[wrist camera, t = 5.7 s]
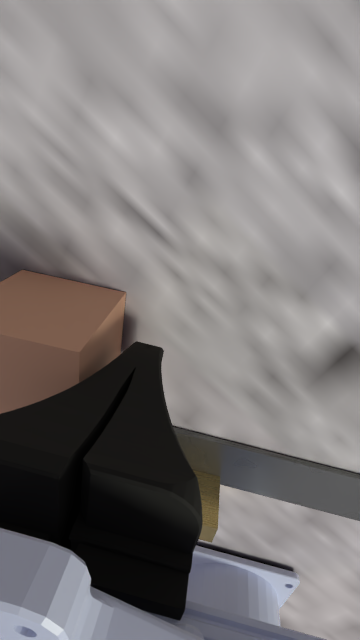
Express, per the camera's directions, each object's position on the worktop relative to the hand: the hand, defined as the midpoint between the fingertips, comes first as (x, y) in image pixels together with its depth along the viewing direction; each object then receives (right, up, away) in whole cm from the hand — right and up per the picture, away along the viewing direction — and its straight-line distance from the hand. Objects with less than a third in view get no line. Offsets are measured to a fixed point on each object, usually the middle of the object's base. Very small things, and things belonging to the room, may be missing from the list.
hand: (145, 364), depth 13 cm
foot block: (-3, +1, +1) cm, 4 cm away
